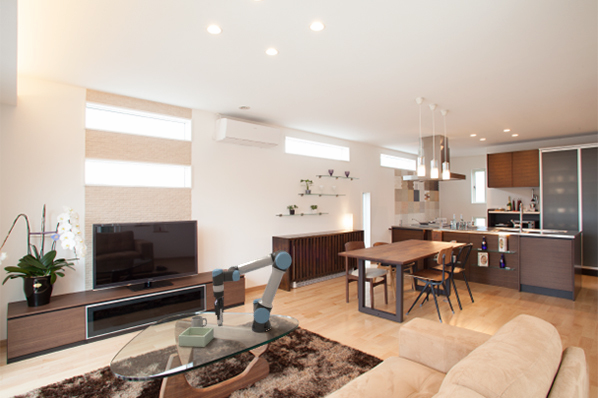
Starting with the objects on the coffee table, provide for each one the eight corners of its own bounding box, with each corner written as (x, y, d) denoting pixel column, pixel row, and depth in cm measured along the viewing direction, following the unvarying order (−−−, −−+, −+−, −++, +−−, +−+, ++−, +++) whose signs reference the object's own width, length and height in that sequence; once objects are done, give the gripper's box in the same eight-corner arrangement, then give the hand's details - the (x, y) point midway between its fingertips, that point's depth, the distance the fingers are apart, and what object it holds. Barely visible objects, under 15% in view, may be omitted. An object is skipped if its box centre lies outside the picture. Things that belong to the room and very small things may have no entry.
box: (213, 337, 245) (213, 327, 245) (204, 346, 229) (204, 336, 229) (189, 336, 248) (189, 326, 248) (178, 345, 232) (178, 335, 232)
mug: (193, 335, 250) (193, 320, 250) (190, 331, 257) (189, 317, 257) (209, 330, 258) (208, 316, 258) (205, 327, 264) (204, 313, 264)
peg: (223, 324, 242) (222, 308, 242) (221, 326, 239) (220, 309, 239) (219, 324, 243) (218, 308, 243) (217, 326, 240) (216, 309, 240)
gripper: (218, 287, 250) (219, 318, 250) (208, 293, 234) (210, 327, 234) (227, 287, 248) (229, 318, 248) (219, 293, 232) (220, 327, 233)
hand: (220, 322), depth 241 cm, fingers closed on peg, 3 cm apart
